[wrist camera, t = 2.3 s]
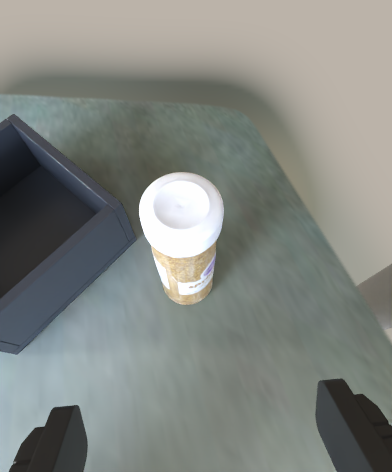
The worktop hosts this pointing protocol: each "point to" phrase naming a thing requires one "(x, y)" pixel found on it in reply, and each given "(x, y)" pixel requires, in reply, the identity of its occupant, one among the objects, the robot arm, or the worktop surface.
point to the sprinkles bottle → (183, 233)
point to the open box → (49, 233)
